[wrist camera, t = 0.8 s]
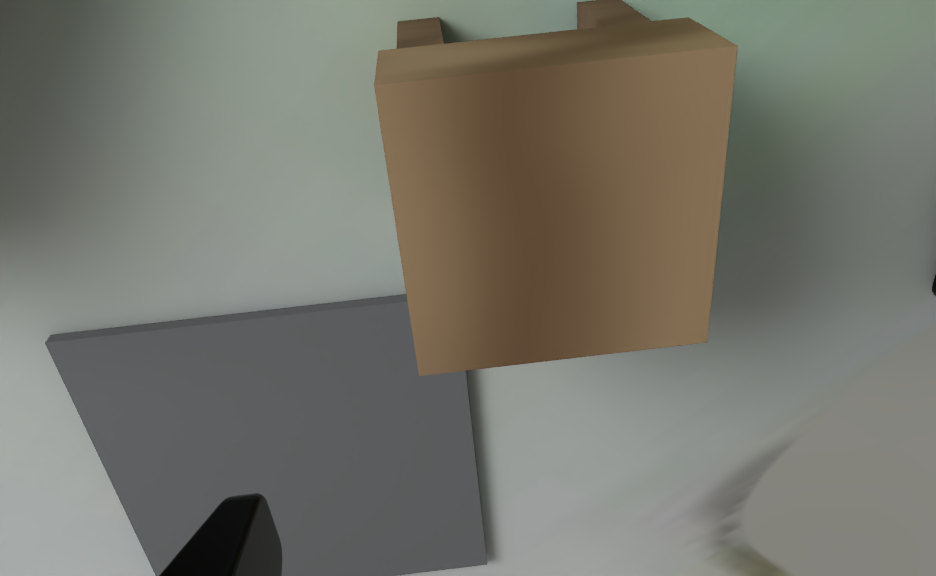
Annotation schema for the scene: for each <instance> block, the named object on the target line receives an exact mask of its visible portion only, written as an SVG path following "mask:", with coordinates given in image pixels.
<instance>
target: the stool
mask: <svg viewBox="0 0 936 576" xmlns="http://www.w3.org/2000/svg"><path fill="white" fill-rule="evenodd" d="M737 47H738V46H737V45H735V44H734V43H732V42H730V41H728V40H727V39H725V38H723V37H721V36H720V35H718V34H716V33H715V32H713V31H711V30H709V29H708V28H706V27H704V26H702V25H701V24H699V23H697V22H696V21H694V20H692V19H690V18H689V17H688V18H679V19H670V20H661V21H651V20H649V19H648V18H646V17H645V16H643V15H642V14H640V13H639V12H637V11H636V10H634V9H633V8H632V7H630V6H629V5H627V4H626V3H624V2H623V1H621V0H596V1H587V2H577V30H567V31H558V32H549V33H540V34H530V35H521V36H512V37H502V38H493V39H484V40H474V41H465V42H456V43H447V44H444V40H443V35H442V31H441V26H440V21H439V17H437V18H427V19H418V20H409V21H399V22H398V25H397V49H391V50H381V51H378V59H377V67H376V75H375V83H374V87H375V93H376V100H377V106H378V113H379V119H380V126H381V132H382V139H383V145H384V152H385V158H386V165H387V171H388V178H389V184H390V191H391V197H392V204H393V210H394V217H395V223H396V230H397V236H398V243H399V249H400V256H401V262H402V269H403V275H404V282H405V288H406V295H407V301H408V308H409V314H410V321H411V327H412V334H413V340H414V346H415V353H416V359H417V366H418V372H419V376H424V375H432V374H441V373H449V372H458V371H466V370H475V369H483V368H492V367H501V366H509V365H518V364H526V363H535V362H543V361H552V360H560V359H569V358H577V357H586V356H595V355H603V354H612V353H620V352H629V351H637V350H646V349H654V348H663V347H672V346H680V345H689V344H697V343H706V342H707V340H708V330H709V320H710V310H711V301H712V291H713V281H714V271H715V262H716V252H717V242H718V232H719V222H720V213H721V203H722V193H723V183H724V174H725V164H726V154H727V144H728V134H729V125H730V115H731V105H732V95H733V86H734V76H735V66H736V56H737Z"/></svg>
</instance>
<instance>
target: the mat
mask: <svg viewBox="0 0 936 576" xmlns="http://www.w3.org/2000/svg"><path fill="white" fill-rule="evenodd" d="M45 344H46V346H47V348H48V350H49V352H50V354H51V356H52V359H53V361H54V363H55V365H56V367H57V369H58V371H59V373H60V375H61V377H62V380H63V382H64V384H65V386H66V388H67V390H68V392H69V394H70V396H71V398H72V401H73V403H74V405H75V407H76V409H77V411H78V413H79V415H80V417H81V419H82V422H83V424H84V426H85V428H86V430H87V432H88V434H89V436H90V438H91V440H92V443H93V445H94V447H95V449H96V451H97V453H98V455H99V457H100V459H101V461H102V464H103V466H104V468H105V470H106V472H107V474H108V476H109V478H110V480H111V482H112V485H113V487H114V489H115V491H116V493H117V495H118V497H119V499H120V501H121V503H122V505H123V508H124V510H125V512H126V514H127V516H128V518H129V520H130V522H131V524H132V526H133V529H134V531H135V533H136V535H137V537H138V539H139V541H140V543H141V545H142V547H143V550H144V552H145V554H146V556H147V558H148V560H149V562H150V564H151V566H152V568H153V571H154V573H155V575H156V576H159V575H160V574H161V572H162V571H163V570H164V569H165V568H166V566H167V565H168V564H169V563H170V562H171V561H172V559H173V558H174V557H175V556H176V555H177V554H178V552H179V551H180V550H181V549H182V548H183V547H184V545H185V544H186V543H187V542H188V541H189V539H190V538H191V537H192V536H193V535H194V534H195V532H196V531H197V530H198V529H199V528H200V527H201V525H202V524H203V523H204V522H205V521H206V519H207V518H208V517H209V516H210V515H211V514H212V512H213V511H214V510H215V509H216V508H217V507H218V505H219V504H220V503H221V502H222V501H223V500H225V499H226V498H228V497H230V496H238V495H246V494H254V493H258V494H262V495H263V496H264V497H265V499H266V500H267V503H268V505H269V508H270V511H271V514H272V517H273V520H274V523H275V526H276V529H277V532H278V535H279V538H280V541H281V546H282V576H396V575H404V574H412V573H420V572H429V571H437V570H445V569H453V568H461V567H469V566H477V565H486V564H487V558H486V549H485V540H484V531H483V522H482V513H481V504H480V495H479V486H478V477H477V468H476V459H475V450H474V441H473V432H472V423H471V414H470V405H469V396H468V387H467V378H466V371H458V372H449V373H441V374H432V375H424V376H419V372H418V366H417V359H416V353H415V346H414V340H413V334H412V327H411V321H410V314H409V308H408V301H407V295H406V294H405V295H397V296H388V297H379V298H370V299H362V300H353V301H344V302H335V303H327V304H318V305H309V306H301V307H292V308H283V309H274V310H266V311H257V312H248V313H239V314H231V315H222V316H213V317H205V318H196V319H187V320H178V321H170V322H161V323H152V324H143V325H135V326H126V327H117V328H108V329H100V330H91V331H82V332H74V333H65V334H56V335H50V337H49V338H48V340H47V341H46V342H45Z"/></svg>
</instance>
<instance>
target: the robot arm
mask: <svg viewBox="0 0 936 576" xmlns="http://www.w3.org/2000/svg"><path fill="white" fill-rule="evenodd" d="M932 292H933V293H934V295H935V296H936V275H935V279H934V282H933V286H932ZM159 576H282V546H281V541H280V538H279V535H278V532H277V529H276V526H275V523H274V520H273V517H272V514H271V511H270V508H269V505H268V503H267V500H266V499H265V497H264V496H263V495H262V494H258V493H254V494H246V495H238V496H230V497H228V498H226V499H225V500H223V501H222V502H221V503H220V504H219V505H218V507H217V508H216V509H215V510H214V511H213V512H212V514H211V515H210V516H209V517H208V518H207V519H206V521H205V522H204V523H203V524H202V525H201V527H200V528H199V529H198V530H197V531H196V532H195V534H194V535H193V536H192V537H191V538H190V539H189V541H188V542H187V543H186V544H185V545H184V547H183V548H182V549H181V550H180V551H179V552H178V554H177V555H176V556H175V557H174V558H173V559H172V561H171V562H170V563H169V564H168V565H167V566H166V568H165V569H164V570H163V571H162V572H161V574H160V575H159Z"/></svg>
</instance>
